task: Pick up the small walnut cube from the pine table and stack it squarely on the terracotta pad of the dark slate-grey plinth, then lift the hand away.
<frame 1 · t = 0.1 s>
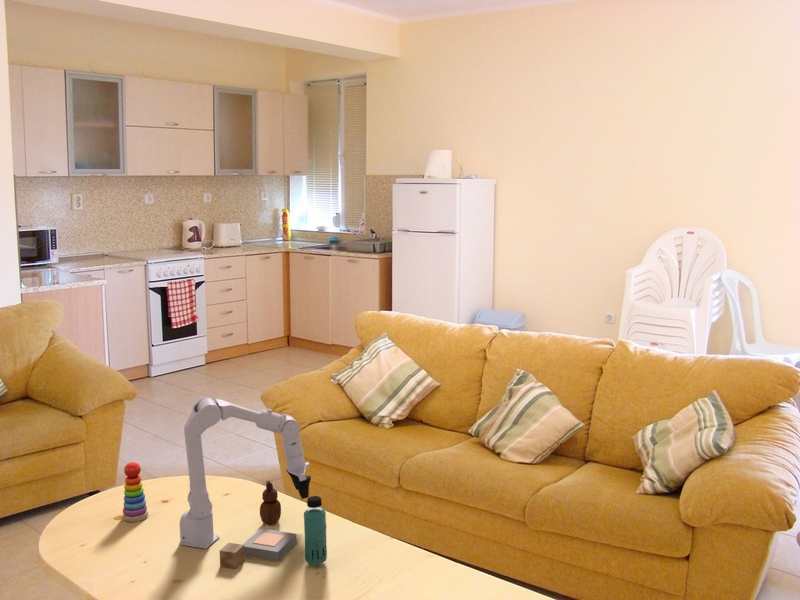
hand: (302, 493, 242), 11 cm above the table, tool pointing down, fingers open, 7 cm apart
wooden figurine: (270, 523, 245), on the table
slate plinth: (269, 549, 228), on the table
walnut cube: (232, 563, 219), on the table
stacking toy: (135, 518, 250), on the table
beverage bottle: (316, 564, 219), on the table
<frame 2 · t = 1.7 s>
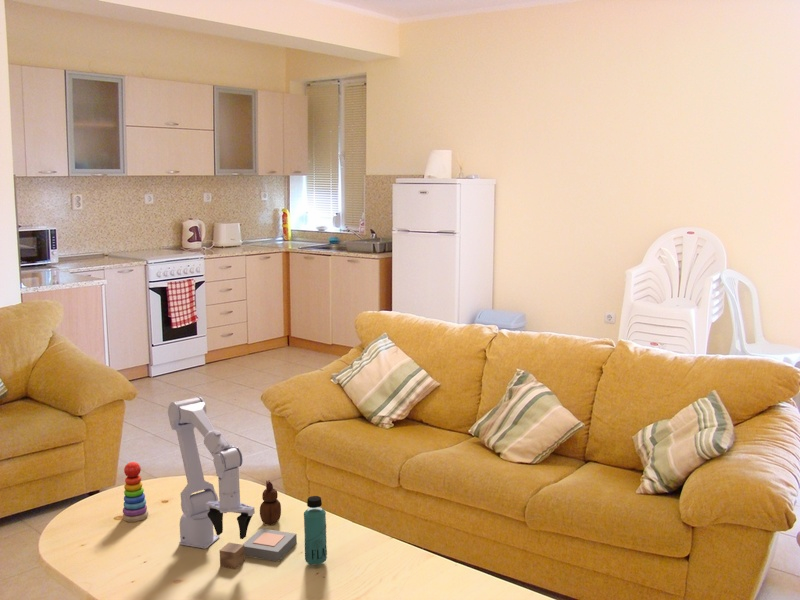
hand: (231, 535, 218), 9 cm above the table, tool pointing down, fingers open, 7 cm apart
nothing on the table moved.
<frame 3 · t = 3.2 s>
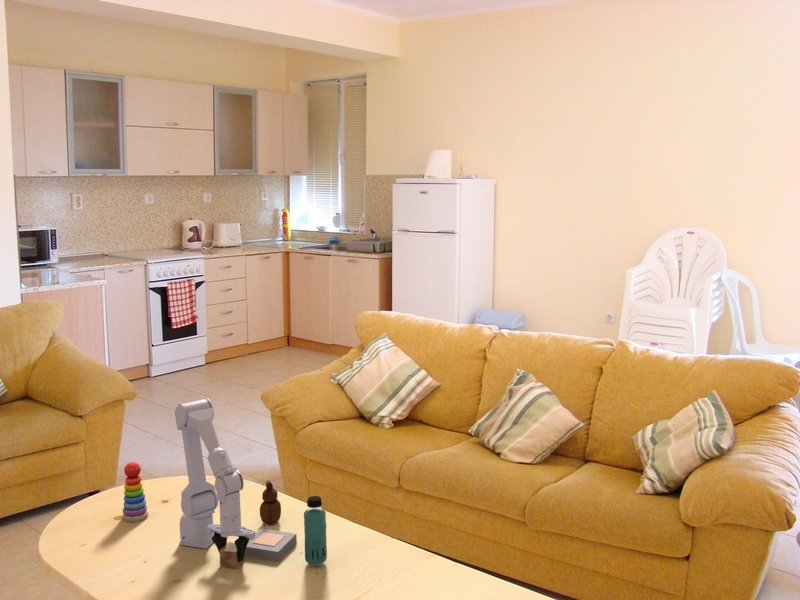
hand: (232, 558, 219), 1 cm above the table, tool pointing down, fingers closed on walnut cube, 5 cm apart
walnut cube: (232, 563, 219), on the table, touching gripper
everything else where it was.
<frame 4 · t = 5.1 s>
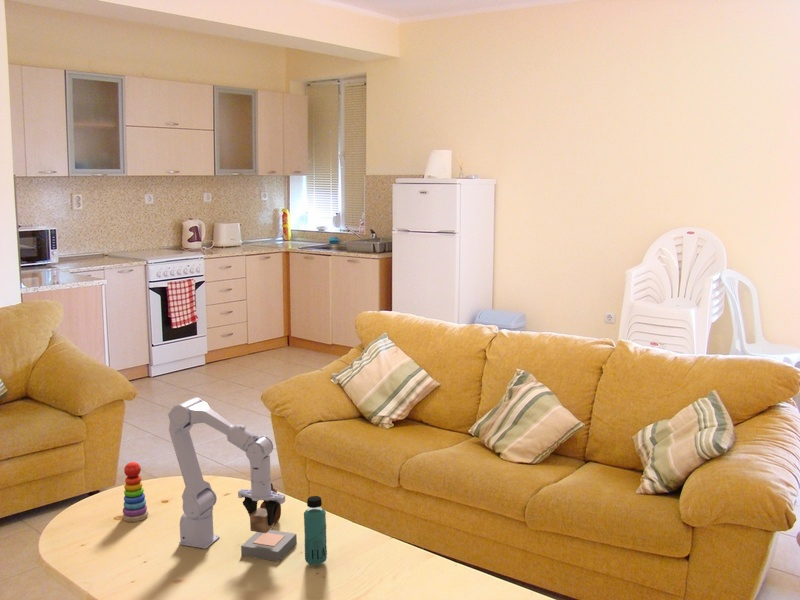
hand: (262, 523, 225), 9 cm above the table, tool pointing down, fingers closed on walnut cube, 5 cm apart
walnut cube: (262, 528, 225), point 7 cm above the table, touching gripper
everything else where it was.
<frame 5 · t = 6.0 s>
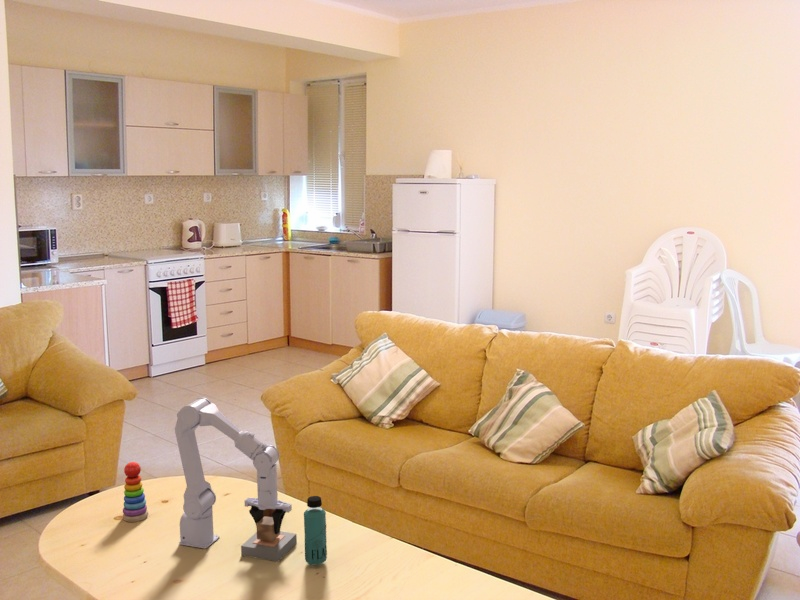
hand: (268, 531, 227), 6 cm above the table, tool pointing down, fingers closed on walnut cube, 5 cm apart
walnut cube: (268, 536, 227), point 4 cm above the table, touching gripper
everything else where it was.
when the fingers open (6 cm above the table, at t = 6.8 s): walnut cube stays where it is, resting on slate plinth.
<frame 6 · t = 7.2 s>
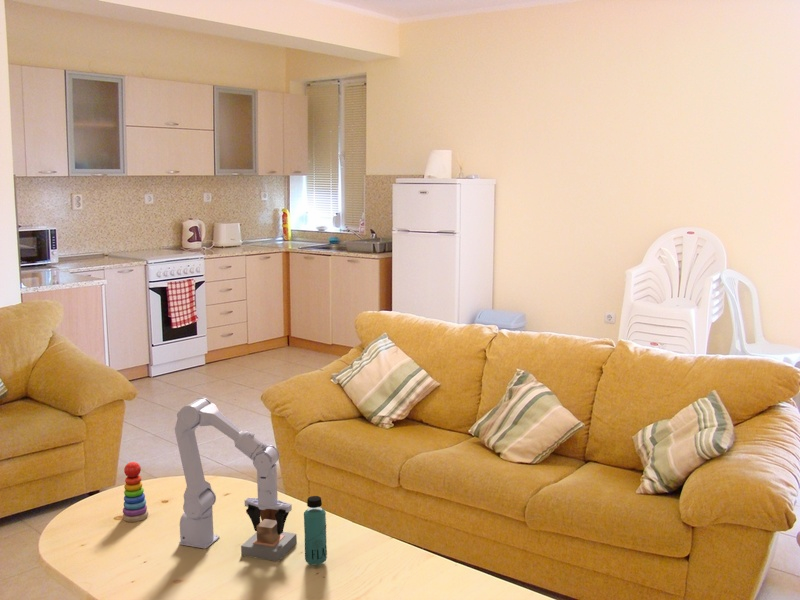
hand: (268, 531, 227), 6 cm above the table, tool pointing down, fingers open, 7 cm apart
walnut cube: (268, 539, 227), point 3 cm above the table, touching slate plinth
everything else where it was.
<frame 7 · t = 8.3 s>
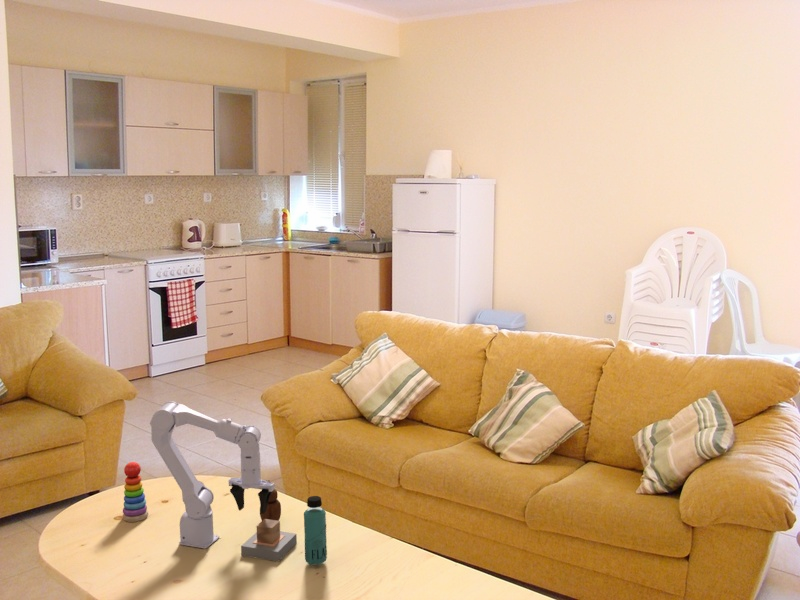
hand: (252, 510, 231), 10 cm above the table, tool pointing down, fingers open, 7 cm apart
nothing on the table moved.
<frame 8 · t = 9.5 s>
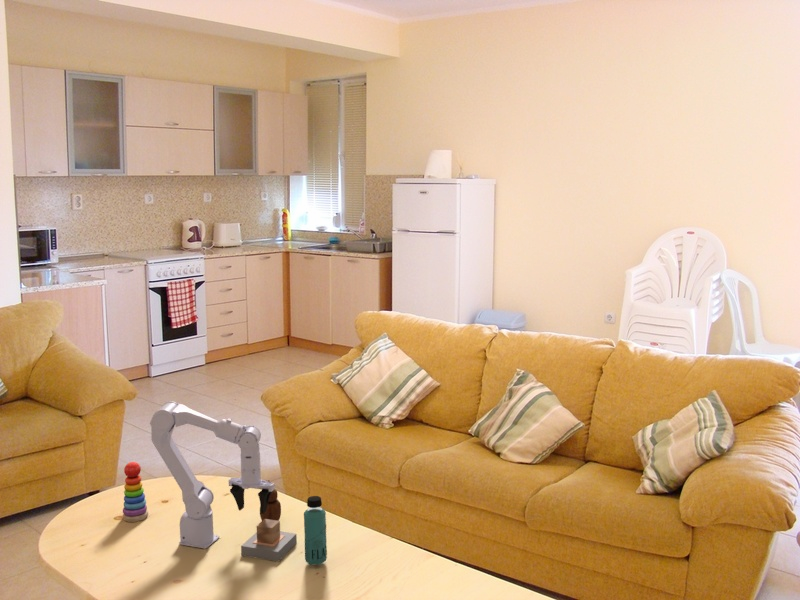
hand: (252, 510, 231), 10 cm above the table, tool pointing down, fingers open, 7 cm apart
nothing on the table moved.
at the end: walnut cube 0.2 cm off-centre on the slate plinth, point 3.2 cm above the slate plinth's base; walnut cube tilted 0°; the gripper is holding nothing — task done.
